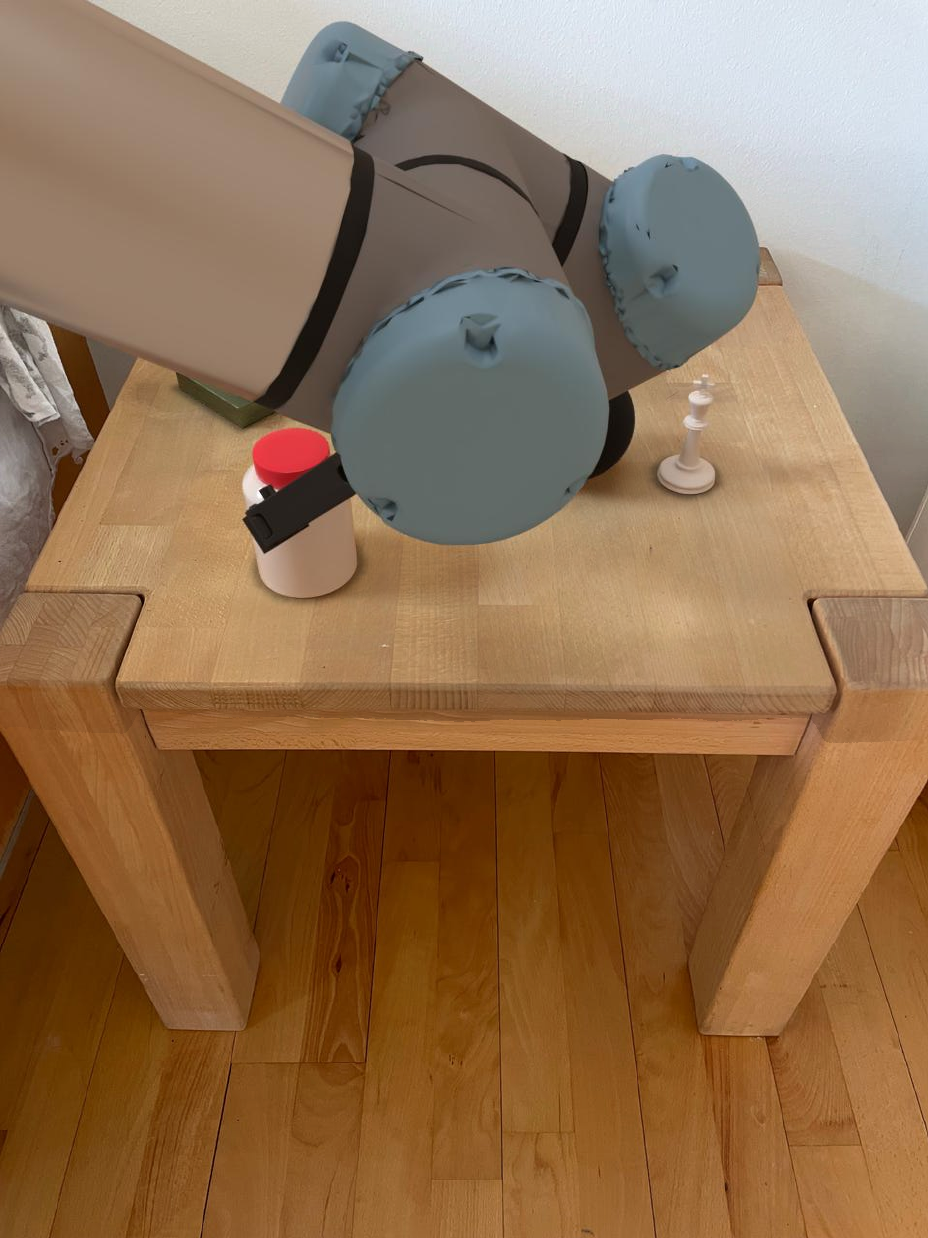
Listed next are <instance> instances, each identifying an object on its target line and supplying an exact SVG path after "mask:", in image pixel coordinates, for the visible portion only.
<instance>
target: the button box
mask: <svg viewBox="0 0 928 1238" xmlns="http://www.w3.org/2000/svg"><path fill="white" fill-rule="evenodd" d="M175 375H176V376H175V377H176V379H177V384H178V388H179V389H180V390H181V391H183V392H185V393H186V394H187V395H189V396H191V398H194V399H195V400H197V401H198V402H200V403H201V404H203V405H204V406H207V408H209V409H211V410H212V411H214V412H216V413H217V414H219V415H220V416H222V417H224V418H225V419H227V420H228V421H229V422H231V423H233V424H234V425H236V426H237V427H238V428H239V427H240V428H241V429H244V428H246V427H249V426H250V425H251V424H254V423H256V422H258V421H259V420H261V419H264V418H265V417H267V416H269V415H271V414H273V413H276V412H275V411H273V410H271V409H269V408H266V407H264V406H261V405H259V404H256V403H254V402H251V401H249V400H246V399H244V398H241V397H238V396H236V395H233V394H231V393H228V392H226V391H223V390H220V389H218V388H215V387H213V386H210V385H208V384H205V383H202V382H200V381H197V380H195V379H192V378H190V377H187V376H185V375H182V374H179V373H177V372H175Z"/></svg>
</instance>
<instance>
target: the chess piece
mask: <svg viewBox="0 0 928 1238" xmlns="http://www.w3.org/2000/svg"><path fill="white" fill-rule="evenodd" d="M708 379H709V374H705V373H702V376H701V380H697V379H693V381H692V386H691V388H693V389H699V390H695V391H691V392H690V394H689V395H688V398H687V399H688V404H689V411H690V414H687V415H686V416H685V417H684V419H683V421H682V424H683V426H684V427H685V428H687V429H688V430H687V434H686V438H685V440H684V443H683V446H682V449H681V453H679V454H675V455H671V456H668V457H666V458H665V459H663V461H661V462H660V464H659V467H658V470H657V479H658V481H659V483H660V484H661V485H662V486H663V487H665V488H666V489H668V490H670V491H672V492H675V493H677V494H682V495H698V494H702V493H705V492H707V491H709V490H710V489H711V488H712V487H714V484H715V482H716V471H715V468H714V467H713V465H712V464H711V463H710V462H709V461H707V460H706V459H704V458H702V457H700V454H701V453H700V449H701V436H702V435H701V434H702V431H704V430H707V429H708V428H709V427H710V420H709V419H708V418H707V417H706V415H707V414H708V411H709V409H710V408H711V407H712V405H713V403H714V397H713V395H712V394H711V393H710V392H708V391H706V390H709V391H714V389H715V382H713V381H708Z"/></svg>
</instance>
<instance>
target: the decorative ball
mask: <svg viewBox="0 0 928 1238" xmlns="http://www.w3.org/2000/svg"><path fill="white" fill-rule="evenodd" d="M608 402H609V417H608V428H607V434H606V439H605V445H604V447H603V450H602V453H601V456H600V458H599V461H598V463H597V464H596V466H595V468H594V470H593V472H592V473H591V474H590V475H589V477H588V478H587V479H586V481H587V480H591V479H594V478H596V477H599V476H601V475H603V474H605V473H606V472H607V471H609V470H610V469H613V467H614V466H616V465H617V463H618V462H619V461H620V460H621V459H622V458H623V456H624V455H625V454H626V453H627V450H628V449H629V447H630V445H631V442H632V440H633V437H634V432H635V427H636V411H635V405H634V401H633V399H632V396H631V394H630V390H628V391H626V392H624V393H622V394H620V395H618V396H616V397H615V398H613V399H611V400H609V401H608Z"/></svg>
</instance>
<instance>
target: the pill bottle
mask: <svg viewBox="0 0 928 1238" xmlns="http://www.w3.org/2000/svg"><path fill="white" fill-rule="evenodd" d="M251 451H252V452H251V456H252V461H253V463H252V464H251V465H250V466H249V467H248V468H247V470H246V471H245V473H244V475H243V477H242V484H241V489H242V495H243V499H244V503H245V504H244V505H245V510H248V509H249V507H250V506H252V505H253V504H255V503H256V504H259V503H260V502H262V501H263V500H264V499H263V497H262V496H261V494H260V492H259V490H260V489H262V488H263V487H265V486H268V485H270V484H271V485H272V486H273V488H274V489H275V491H276V492H277V491H278V490H280V489H281V488H283V487H284V486H286V485H288V484H289V483H291V482H292V481H294V480H295V479H297V478H298V477H300V476H301V475H303V474H304V473H306V472H307V471H309V470H310V469H312V468H313V467H315V466H316V465H318V464H319V463H321V462H322V461H324V460H325V459H327V458H328V457H330V456H331V455H333V454H332V453H331V449H330V444H329V441H328V440H327V438H326V437H325V436H324V435H322V434H321V433H319V432H318V431H315V430H312V429H309V428H305V427H304V428H303V427H288V428H282V429H281V428H280V429H277V430H274V431H272V432H269V433H267V434H265V435H263V436H262V437H261V438H260V439H258V440H257V442H255V444H254V445H253V447H252V450H251ZM353 516H354V515H353V507H352V497H351V498H349V499H348V500H346V501H344V502H343V503H341V504H340V505H338V506H336V507H335V508H333V509H331V510H330V511H328V512H327V513H325V514H323V515H322V516H320V517H318V518H317V519H315V520H313V521H312V522H310V523H309V527H307V528H305V529H304V530H302V531H301V532H299V533H298V534H296V535H294V536H293V537H291V538H290V539H288V540H287V541H285V542H283V543H282V544H280V545H279V546H277V547H275V548H274V549H272V550H271V551H269V552H267V553H266V554H264V553H263V551H262V550H261V548H260V547H259V545H258V544H257V542H256V540H255V539H254V537H253V536H252V534H251V533H250V534H251V539H252V544H253V549H254V555H255V559H256V564H257V569H258V575H259V577H260V579H261V581H262V583H263V584H264V585H265V586H266V587H267V588H269V589H270V590H271V591H273V592H275V593H276V594H279V595H280V596H281V595H282V596H285V597H288V598H289V597H290V598H297V599H305V598H306V599H308V598H309V599H311V598H315V597H321V596H324V595H327V594H331V593H333V592H334V591H336V590H338V589H340V588H341V587H343V586H344V585H346V584H347V583H348V582H349V581H350V580H351V579H352V577H353V575H354V574H355V572H356V569H357V567H358V553H357V543H356V535H355V526H354V517H353Z"/></svg>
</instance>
